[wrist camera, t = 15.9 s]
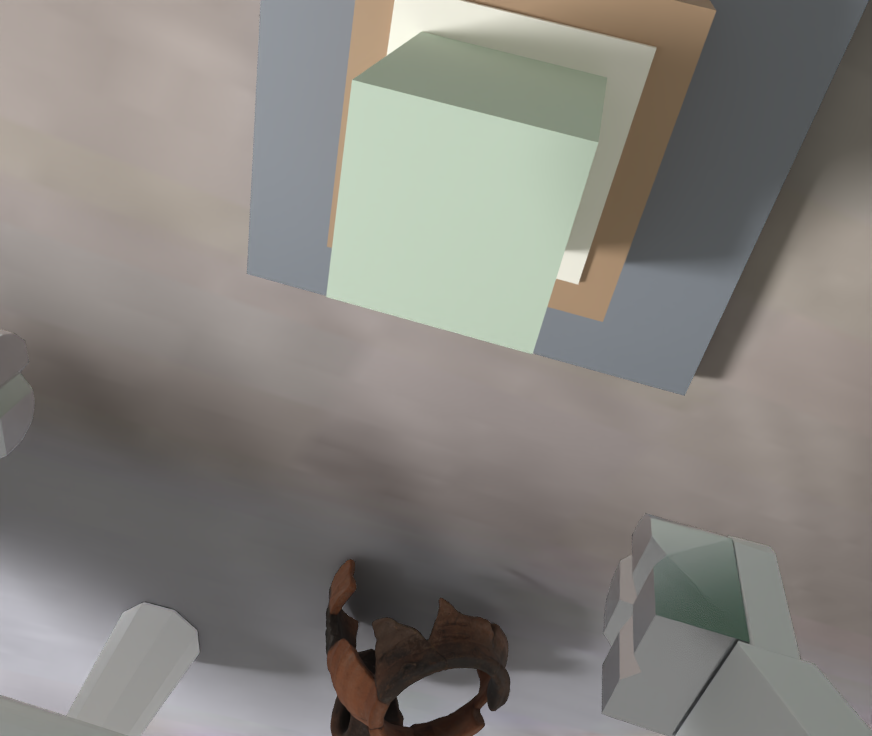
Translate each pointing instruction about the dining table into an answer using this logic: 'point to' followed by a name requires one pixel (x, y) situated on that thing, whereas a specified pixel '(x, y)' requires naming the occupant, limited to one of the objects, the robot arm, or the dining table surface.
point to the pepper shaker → (137, 669)
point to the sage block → (462, 186)
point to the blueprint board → (613, 161)
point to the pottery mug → (408, 667)
